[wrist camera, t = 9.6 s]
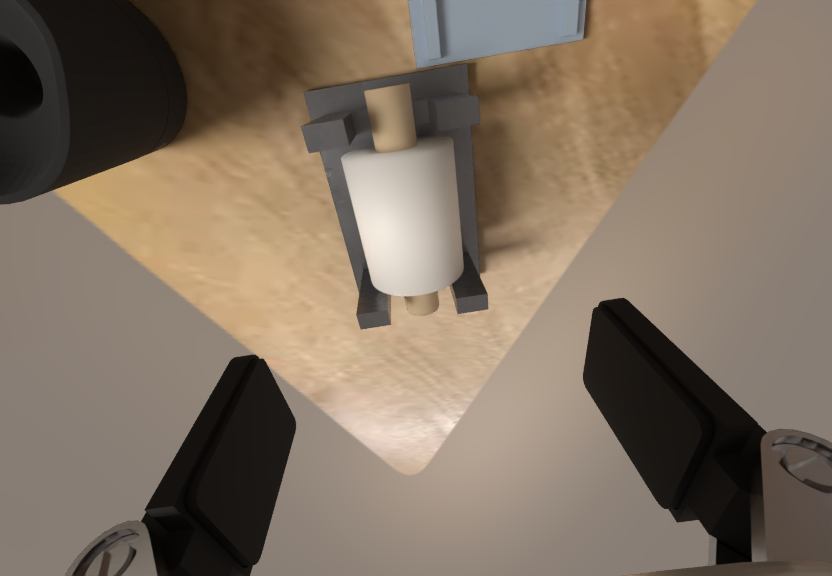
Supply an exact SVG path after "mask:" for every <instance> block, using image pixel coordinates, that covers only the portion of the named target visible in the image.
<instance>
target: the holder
mask: <svg viewBox="0 0 832 576" xmlns="http://www.w3.org/2000/svg"><path fill="white" fill-rule="evenodd" d="M407 83H409V85H410V93H411V100H412V107H413V115H414V122H415V130H416V137H421V136H447V137H451V138H453V144H454V156H455V168H456V180H457V192H458V203H459V215H460V227H461V239H462V251H463V262H464V270H463V273H462V274H461V276H460V277H459V278H458V279H457V280H456V281H455V282H454V283H452V284H451V285H449V286H450V289H451V293H452V296H453V300H454V303H455V306H456V310H457V313H458V314H461V313H467V312H474V311H480V310H486V309H488V294H487V291H486V289H485V287H484V285H483V283H482V281H481V278H480V269H479V252H478V235H477V218H476V201H475V184H474V167H473V150H472V133H471V125H477V124H480V122H479V101H478V96H476V95H469V81H468V64H462V65H456V66H450V67H445V68H439V69H433V70H427V71H422V72H416V73H410V74H405V75H399V76H393V77H387V78H382V79H376V80H370V81H364V82H359V83H353V84H347V85H342V86H336V87H330V88H324V89H319V90H313V91H307V92H303V93H304V96H305V100H306V104H307V107H308V111H309V114H310V118H311V122H309V123H307V124H305V125H303V126H301V129H302V132H303V135H304V139H305V142H306V146H307V149H308V152H309V153H313V152H319V151H320V154H321V157H322V161H323V165H324V168H325V172H326V175H327V179H328V183H329V186H330V190H331V193H332V197H333V201H334V204H335V208H336V211H337V215H338V219H339V222H340V226H341V229H342V233H343V237H344V240H345V244H346V247H347V251H348V254H349V258H350V262H351V265H352V269H353V272H354V276H355V280H356V283H357V287H358V290H359V300H358V307H357V314H356V315H357V318H358V322H359V325H360V329H367V328H373V327H379V326H386V325H391V295H389V294H386V293H383V292H381V291H379V290H378V289H376V288H375V287H374V286H373V284H372V281H371V277H370V273H369V269H368V265H367V261H366V257H365V253H364V249H363V245H362V241H361V237H360V233H359V229H358V225H357V221H356V217H355V213H354V209H353V205H352V201H351V197H350V193H349V189H348V185H347V181H346V177H345V173H344V169H343V165H342V161H341V157H342V156H343V155H344V154H346V153H348V152H350V151H353V150H356V149H359V148H362V147H365V146H369V145H373V144H374V140H373V135H372V130H371V125H370V120H369V114H368V109H367V104H366V99H365V94H364V91H367V90H372V89H378V88H384V87H389V86H395V85H401V84H407Z"/></svg>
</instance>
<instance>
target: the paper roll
mask: <svg viewBox="0 0 832 576" xmlns="http://www.w3.org/2000/svg"><path fill="white" fill-rule="evenodd" d="M364 94H365V99H366V104H367V109H368V114H369V120H370V125H371V130H372V135H373V140H374V144H373V145H369V146H365V147H362V148H359V149H356V150H353V151H350V152H348V153H346V154H344V155H343V156H342V157H341V161H342V165H343V169H344V173H345V177H346V181H347V185H348V189H349V193H350V197H351V201H352V205H353V209H354V213H355V217H356V221H357V225H358V229H359V233H360V237H361V241H362V245H363V249H364V253H365V257H366V261H367V265H368V269H369V273H370V277H371V281H372V284H373V286H374V287H375V288H376V289H378V290H379V291H381V292H383V293H386V294H389V295H395V296H404V297H405V302H406V307H407V311H408V312H409V313H410V314H412V315H416V316H425V315H429V314H431V313H433V312H435V311H436V310H437V309H438V307H439V299H438V290H441V289H443V288H445V287H447V286H449V285H451V284H452V283H454V282H455V281H456V280H457V279H458V278H459V277H460V276H461V274H462V273H463V270H464V262H463V251H462V239H461V227H460V215H459V203H458V192H457V180H456V168H455V156H454V144H453V138H451V137H447V136H421V137H416V130H415V122H414V115H413V107H412V100H411V93H410V85H409V83H407V84H401V85H395V86H389V87H384V88H378V89H372V90H367V91H364Z"/></svg>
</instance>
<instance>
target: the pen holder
mask: <svg viewBox="0 0 832 576" xmlns="http://www.w3.org/2000/svg"><path fill="white" fill-rule="evenodd" d="M186 102H187V97H186V88H185V83H184V79H183V75H182V72H181V69H180V67H179V64H178V62H177V60H176V58H175V55H174V53H173V52H172V50H171V48H170V46H169V45H168V43H167V42H166V40H165V39H164V37H163V36H162V34H161V33H160V32H159V30H158V29H157V28H156V27H155V26H154V25H153V23H152V22H151V21H150V20H149V19H148V18H147V17H146V16H145V15H144V14H143V13H142V12H141V11H140V10H139V9H137V8H136V7H135V6H134V5H133V4H131V3H130V2H129V1H127V0H0V204H11V203H16V202H21V201H25V200H28V199H31V198H33V197H36V196H39V195H41V194H44V193H47V192H49V191H52V190H55V189H57V188H60V187H63V186H65V185H68V184H71V183H73V182H76V181H79V180H81V179H84V178H87V177H89V176H92V175H95V174H98V173H100V172H103V171H106V170H108V169H111V168H114V167H116V166H119V165H122V164H124V163H127V162H130V161H132V160H135V159H137V158H140V157H142V156H144V155H147V154H149V153H152V152H154V151H157V150H159V149H160V148H162V147H164V146H165V145H167V144H168V143H169V142H170V141H172V140H173V139H174V137H175V136H176V135H177V134H178V132H179V130H180V129H181V127H182V124H183V121H184V118H185V113H186Z"/></svg>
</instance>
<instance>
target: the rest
mask: <svg viewBox="0 0 832 576" xmlns="http://www.w3.org/2000/svg"><path fill="white" fill-rule="evenodd" d="M408 5H409V13H410V21H411V29H412V37H413V45H414V53H415V61H416V69H418V68H423V67H429V66H435V65H441V64H446V63H452V62H458V61H463V60H469V59H475V58H481V57H486V56H492V55H498V54H504V53H509V52H515V51H521V50H526V49H532V48H538V47H544V46H549V45H555V44H561V43H566V42H572V41H578V40H582V39H583V34H584V23H585V11H586V0H408Z"/></svg>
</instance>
